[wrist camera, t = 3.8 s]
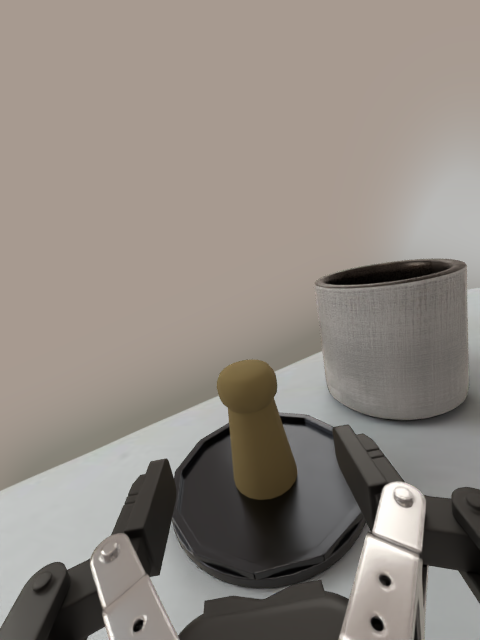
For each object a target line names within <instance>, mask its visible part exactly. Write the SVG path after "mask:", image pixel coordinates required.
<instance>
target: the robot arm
mask: <svg viewBox="0 0 480 640" xmlns="http://www.w3.org/2000/svg"><path fill="white" fill-rule="evenodd" d="M332 431H333V439H334V446H335V454H336V459H337V462H338V465H339V468H340V470H341V472H342V474H343V476H344V478H345V480H346V482H347V484H348V486H349V488H350V490H351V492H352V494H353V496H354V498H355V500H356V502H357V504H358V506H359V508H360V510H361V512H362V514H363V516H364V518H365V520H366V522H367V524H368V526H369V528H370V530H371V532H372V533H371V532H368V533H367V535H366V538H365V541H364V545H363V549H362V553H361V556H360V560H359V564H358V568H357V572H356V575H355V579H354V583H353V587H352V591H351V594H350V598H349V599H347V598H346V597H343V596H341V595H339V594H335V593H332V592H327V591H324V588H323V584H322V581H321V580H316V581H311V582H305V583H300V584H294V585H291V586H289V587H287V588H285V589H284V590H282V591H280V592H278V593H276V594H274V595H272V596H270V597H268V598H266V599H254V598H246V597H239V596H229V597H224V598H218V599H213V600H207V601H205V602H204V614H202V615H200V616H199V617H197V618H196V619H194V620H193V621H192V622H191V623H190V624H188V625H187V626H186V627H185V628H184V629H183V631H182V632H181V633H180V634H179V635H177V633H176V631H175V629H174V627H173V625H172V623H171V621H170V619H169V617H168V615H167V613H166V611H165V609H164V606H163V604H162V602H161V600H160V598H159V596H158V594H157V592H156V590H155V588H154V586H153V584H152V582H151V580H150V578H149V577H152V576H158V575H160V571H161V566H162V561H163V557H164V552H165V548H166V543H167V539H168V534H169V529H170V525H171V520H172V516H173V511H174V506H175V502H176V485H175V481H174V478H173V474H172V471H171V468H170V464H169V461H168V459H161V460H156V461H151V462H150V464H149V466H148V469H147V472H146V474H144V475H140V476H139V477H138V479H137V480H136V481H135V482H134V483H133V485H132V487H131V489H130V491H129V494H128V497H127V499H126V501H125V505H124V506H123V508H122V511H121V513H120V515H119V518H118V520H117V522H116V525H115V527H114V530H113V532H112V534H111V536H109V537H108V538H106V539H105V540H103V541H102V542H101V543H100V544H99V545H98V546H97V547H96V549H95V550H94V552H93V554H92V556H91V558H90V559H89V560H87V561H85V562H83V563H81V564H79V565H77V566H75V567H73V568H70V569H68V570H67V569H66V567H65V565H64V564H63V563H61V562H54V563H51V564H49V565H47V566H45V567H43V568H42V569H40V570H39V571H38V572H36V573H35V574H34V575H33V576H32V577H31V578H30V579H29V581H28V582H27V583H26V584H25V586H24V588H23V589H22V591H21V593H20V595H19V596H18V598H17V600H16V602H15V603H14V605H13V607H12V609H11V610H10V612H9V614H8V616H7V617H6V619H5V621H4V623H3V624H2V626H1V628H0V640H87V638H88V636H89V635H91V634H93V633H94V632H96V631H98V630H100V629H101V628H103V627H106V630H107V634H108V638H109V640H425V612H426V597H427V582H428V568H429V566H435V567H441V568H447V569H453V570H458V571H459V572H460V574H461V575H462V577H463V579H464V580H465V582H466V583H467V585H468V586H469V588H470V589H471V591H472V592H473V594H474V595H475V597H476V598H477V600H478V602H479V603H480V490H479V489H475V488H470V487H462V488H458V489H456V490H455V491H454V492H453V493H452V499H450V498H439V497H431V496H426V495H423V494H422V493H421V491H420V490H418V489H417V488H416V487H414V486H412V485H410V484H408V483H405V482H404V480H403V479H402V478H401V476H400V475H399V474H398V473H397V471H396V470H395V469H394V467H393V466H392V465H391V463H390V462H389V461H388V459H387V458H386V457H385V456H384V454H383V453H382V451H381V450H379V447H378V446H377V445H376V443H375V442H374V441H373V440H372V439H371V438H369V437H368V436H366V435H365V434H358V435H356V434H355V433H354V431H353V430H352V428H351V427H350V426H349V425H343V426H338V427H333V428H332Z"/></svg>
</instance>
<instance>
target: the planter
mask: <svg viewBox="0 0 480 640" xmlns="http://www.w3.org/2000/svg"><path fill="white" fill-rule="evenodd" d="M314 287H315V295H316V302H317V310H318V317H319V326H320V334H321V343H322V352H323V360H324V369H325V377H326V383H327V386H328V390H329V392H330V393H331V395H332V396H333V397H334V398H335V399H336V400H338V401H339V402H340V403H342V404H343V405H345V406H347V407H349V408H351V409H353V410H355V411H358V412H360V413H362V414H366V415H369V416H374V417H378V418H383V419H393V420H415V419H424V418H429V417H433V416H437V415H440V414H443V413H446V412H448V411H450V410H452V409H454V408H456V407H457V406H459V405H460V404H461V403H462V402H463V401H464V400H465V399H466V397H467V394H468V389H469V355H468V319H467V265H466V264H465V263H464V262H462V261H458V260H452V259H416V260H405V261H394V262H387V263H379V264H372V265H367V266H361V267H356V268H351V269H347V270H342V271H339V272H335V273H332V274H329V275H326V276H323V277H321V278H320V279H318V280H317V281H316V282H315V283H314Z"/></svg>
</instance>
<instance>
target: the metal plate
mask: <svg viewBox="0 0 480 640" xmlns="http://www.w3.org/2000/svg"><path fill="white" fill-rule="evenodd" d="M279 415H280V418H281V421H282V424H283V427H284V430H285V433H286V436H287V439H288V442H289V445H290V448H291V451H292V454H293V457H294V460H295V463H296V466H297V477H296V481H295V482H294V484H293V485H292V486H291V488H290V489H289V490H288V491H286V492H285V493H283V494H282V495H280V496H277V497H275V498H272V499H264V500H258V499H253V498H249V497H247V496H245V495H244V494H242V493H241V492H240V491H239V490H238V488H237V487H236V485H235V481H234V474H233V462H232V450H231V438H230V427H229V423H228V424H226V425H225V426H223V427H221V428H220V429H218V430H216V431H215V432H213V433H211V434H209V435H208V436H206V437H204V438H203V439H201V440H200V441H199V442H198V443H197V444H196V446H195V447H194V448H193V449H192V451H191V452H190V453H189V455H188V456H187V457H186V458H185V460H184V461H183V462H182V463H181V465H180V466H179V467H178V468H177V470H176V472H175V476H174V481H175V485H176V502H175V506H174V511H173V516H172V522H173V526H174V530H175V533H176V536H177V538H178V540H179V542H180V545H181V547H182V548H183V549H184V551H185V552H186V554H187V555H188V557H189V558H190V559H191V560H192V561H193V562H194V563H195V564H196V565H197V566H198V567H200V568H201V569H203V570H204V571H206V572H207V573H208V574H210V575H212V576H214V577H216V578H218V579H220V580H222V581H224V582H228V583H231V584H235V585H238V586H244V587H252V588H275V587H281V586H286V585H291V584H295V583H298V582H301V581H303V580H306V579H309V578H311V577H313V576H315V575H317V574H319V573H321V572H323V571H325V570H326V569H328V568H329V567H330V566H332V565H333V564H334V563H336V562H337V561H338V560H339V559H340V558H341V557H342V556H343V555H344V554H345V553H346V552H347V551H348V550H349V549H350V548H351V547H352V545H353V544H354V542H355V541H356V539H357V538H358V537H359V535H360V533H361V531H362V529H363V527H364V524H365V522H366V520H365V518H364V516H363V514H362V512H361V510H360V508H359V506H358V504H357V502H356V500H355V498H354V496H353V494H352V492H351V490H350V488H349V486H348V484H347V482H346V480H345V478H344V476H343V474H342V472H341V470H340V468H339V465H338V462H337V459H336V454H335V446H334V439H333V431H332V428H333V426H331V425H328V424H326V423H324V422H322V421H320V420H318V419H315V418H313V417H311V416H309V415H304V414H290V413H279Z"/></svg>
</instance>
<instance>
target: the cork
mask: <svg viewBox="0 0 480 640" xmlns="http://www.w3.org/2000/svg"><path fill="white" fill-rule="evenodd" d="M217 389H218V394H219V397H220V399H221V401H222V403H223V404H224V405H225V406H226V407H228V415H229V427H230V438H231V450H232V462H233V474H234V481H235V485H236V487H237V488H238V490H239V491H240V492H241V493H242V494H244V495H245V496H247V497H249V498H253V499H258V500H264V499H272V498H275V497H277V496H280V495H282V494H283V493H285V492H286V491H288V490H289V489H290V488H291V486H292V485H293V484H294V482H295V481H296V477H297V466H296V463H295V460H294V457H293V454H292V451H291V448H290V445H289V442H288V439H287V436H286V433H285V430H284V427H283V424H282V421H281V418H280V415H279V412H278V409H277V406H276V403H275V400H274V396H275V394H276V392H277V380H276V375H275V373H274V371H273V369H272V368H271V367H270V366H269V365H268V364H267V363H266V362H263V361H260V360H243V361H239V362H236V363H233V364H231V365H229V366H227V367H226V368H225V369H224V370H223V371H222V372H221V373H220V375H219V378H218V381H217Z"/></svg>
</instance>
